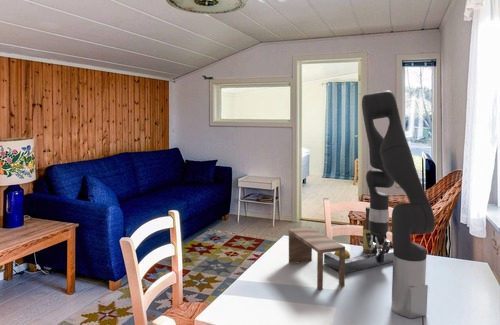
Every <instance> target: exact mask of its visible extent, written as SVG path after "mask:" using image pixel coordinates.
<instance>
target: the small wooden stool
mask: <svg viewBox="0 0 500 325" xmlns="http://www.w3.org/2000/svg"><path fill="white" fill-rule="evenodd" d="M345 250H346V246H344V245H343V244H341V243H339V242H337V241H336V240H334V239H332V238H331V237H329V236H327V235H326V234H324V233H323V232H320V231H319V230H317V229H315V228H314V227H312V226H306V227H297V228H289V229H288V263H289V264H298V263H297V262H299V263H304V262H311V261H313V258H312V257H313V251H315V252H316V253H317V258H316V259H317V260H316V262H317V266H316V267H317V268H316V274H317V275H316V278H317V280H316V289H317V290H318V291H320V290H321V291H322V290H324V287H323V286H324V254H325V253H335V252H336V251H339V271H338V285H339V286H340V287H345V279H346V278H345V276H346V273H345Z"/></svg>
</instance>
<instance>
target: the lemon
mask: <svg viewBox="0 0 500 325" xmlns="http://www.w3.org/2000/svg"><path fill="white" fill-rule="evenodd" d="M333 254H334V255H336V256H339V251H335V252H333ZM349 258H351V253H350V252H349V251H348V249H345V259H349Z"/></svg>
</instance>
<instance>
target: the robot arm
mask: <svg viewBox="0 0 500 325" xmlns="http://www.w3.org/2000/svg"><path fill="white" fill-rule="evenodd" d="M361 110H362V117H363V122H364V127H365V132H366V133H365V134H366V137H367V143H368V149H369V150H368V154H369V165H370V166H371V167H372V168H373V169H372V168H371V169H369V170H368V171H366V174H365V182H366V184H367V188H368V192H369V207H370V211H369V230H370V233H366V239H367V244H368V247H370V248H371V250H372V253H377V252H378V263H383V262H384V254H388V252H389V250H390V249H391V246H392V249H393V262H392V280H391V309H392V311H393V312H394V313H396V314H397V315H400V316H403V317H406V318H408V319H414V318H415V319H416V318H420V317H425V316H426V317H427V315H428V314H427V310H428V292H429V290H428V288H429V285H428V284H426V277H427V276H426V273H427V257H428V255H427V252H428V251H427V248H426V247H425V246H423V244H422V245H421V244H419V243H416V242H413V241H412V238H411V235H427V234H431V233H433V231H434V229H435V227H436V219H435V213H434V212H433V209H432V205H431V203H430V201H429V199H428V196H427V194H426V192H425V190H424V187H423V185H422V183H421V180H420V176H419V174H418V171H417V167H416V164H415V161H414V158H413V154H412V152H411V148H410V145H409V143H408V140H407V137H406V134H405V131H404V128H403V125H402V120H401V117H400V112H399V108H398V103H397V100H396V96H395V94H394V93H393V92H392V91H391V90H382V91H377V92H372V93H371V92H370V93H367V94H364V95H363V96H362V100H361ZM384 118H387V119H388V127H387V131H386V133H385V135H384V136H383V135H382V134H381V133H380V132H379V130H378V129H377V127H376V126H375V122H374V120H377V119H378V120H379V119H384ZM395 183H396V184H397V185H398V186H399V187H400V188H401V190H403V192H404V193H405V195H406V196H407V199H408V201H409V203H408V202H407V203H397V204H395V205H394V207H393V209H392V212H391V239H392V240H389V239H388V236H387V233H388V232H389V228H390V226H389V223H390V212H389V208H390V206H389V204H390V202H389V201H390V197H389V195H388V194H387V193H384V192H381V191H379V190H378V189H377V188H382V189H390V188H392V187H393V186H394V184H395ZM370 241H371V243H370ZM377 248H378V249H377ZM372 253H371V254H372Z"/></svg>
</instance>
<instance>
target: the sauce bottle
mask: <svg viewBox="0 0 500 325" xmlns="http://www.w3.org/2000/svg"><path fill="white" fill-rule="evenodd" d="M369 211H370V206H366V207H365V219H364V220H363V222H362V224H363V225H362V250H363V252H364V253H365V254H371V253H372V250H371V248H370V247H368V244H367V239H366V233H370V230H369ZM370 243H371V241H370ZM377 250H378V248H377Z"/></svg>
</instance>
